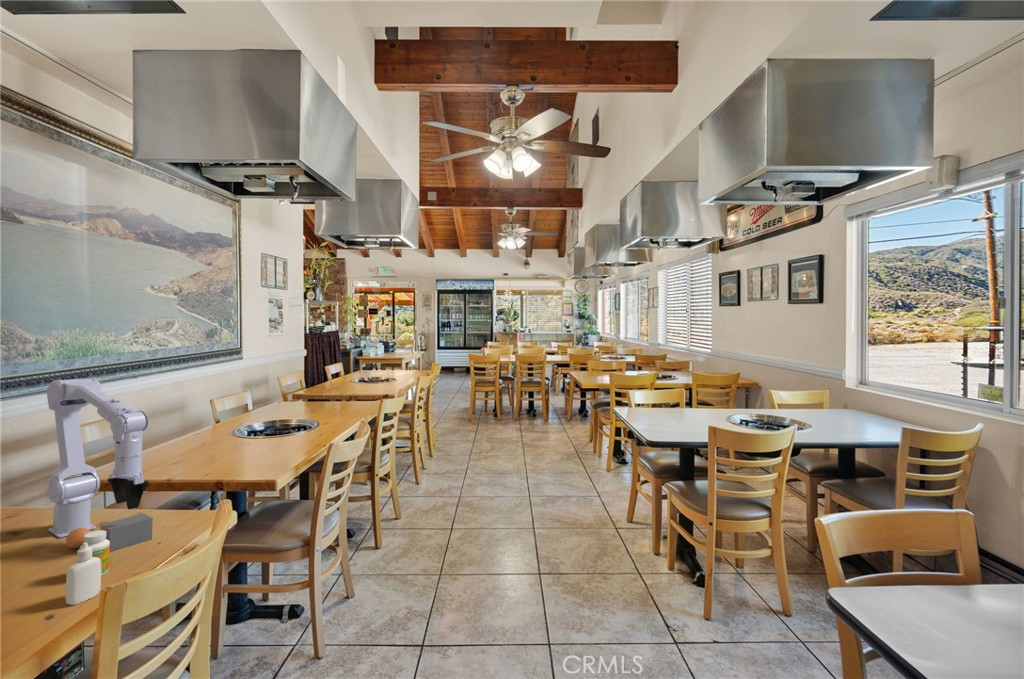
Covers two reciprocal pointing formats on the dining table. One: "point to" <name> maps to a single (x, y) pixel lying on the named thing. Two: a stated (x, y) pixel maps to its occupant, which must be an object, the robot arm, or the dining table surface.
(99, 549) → the supplement bottle
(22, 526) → the dining table surface
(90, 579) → the eye dropper bottle
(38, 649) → the dining table surface
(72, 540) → the brown egg
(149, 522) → the gray block
